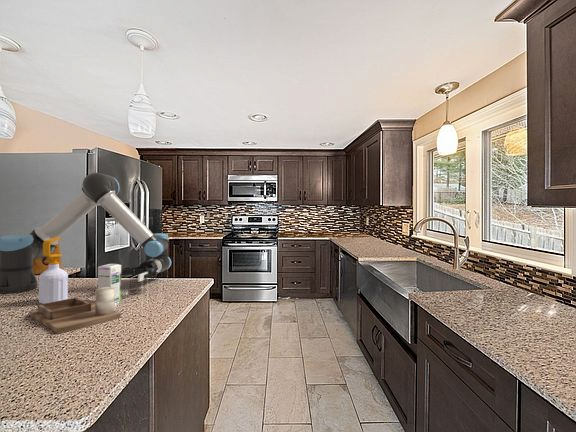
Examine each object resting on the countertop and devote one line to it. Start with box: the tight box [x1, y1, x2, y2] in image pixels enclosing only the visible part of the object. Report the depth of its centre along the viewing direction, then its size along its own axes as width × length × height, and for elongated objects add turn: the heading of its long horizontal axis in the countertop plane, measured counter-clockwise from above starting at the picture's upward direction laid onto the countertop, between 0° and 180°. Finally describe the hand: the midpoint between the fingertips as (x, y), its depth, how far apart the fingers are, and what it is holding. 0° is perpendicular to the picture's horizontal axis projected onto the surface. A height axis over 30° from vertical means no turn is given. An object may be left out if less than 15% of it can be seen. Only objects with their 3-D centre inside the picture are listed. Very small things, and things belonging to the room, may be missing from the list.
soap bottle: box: [38, 237, 69, 304], centre depth 124 cm, size 9×9×25 cm
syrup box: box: [97, 263, 122, 304], centre depth 124 cm, size 6×6×14 cm
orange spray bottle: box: [33, 240, 62, 275], centre depth 171 cm, size 10×12×22 cm
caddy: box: [28, 287, 122, 335], centre depth 108 cm, size 25×18×10 cm
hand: (123, 277), depth 132 cm, fingers open, 13 cm apart
